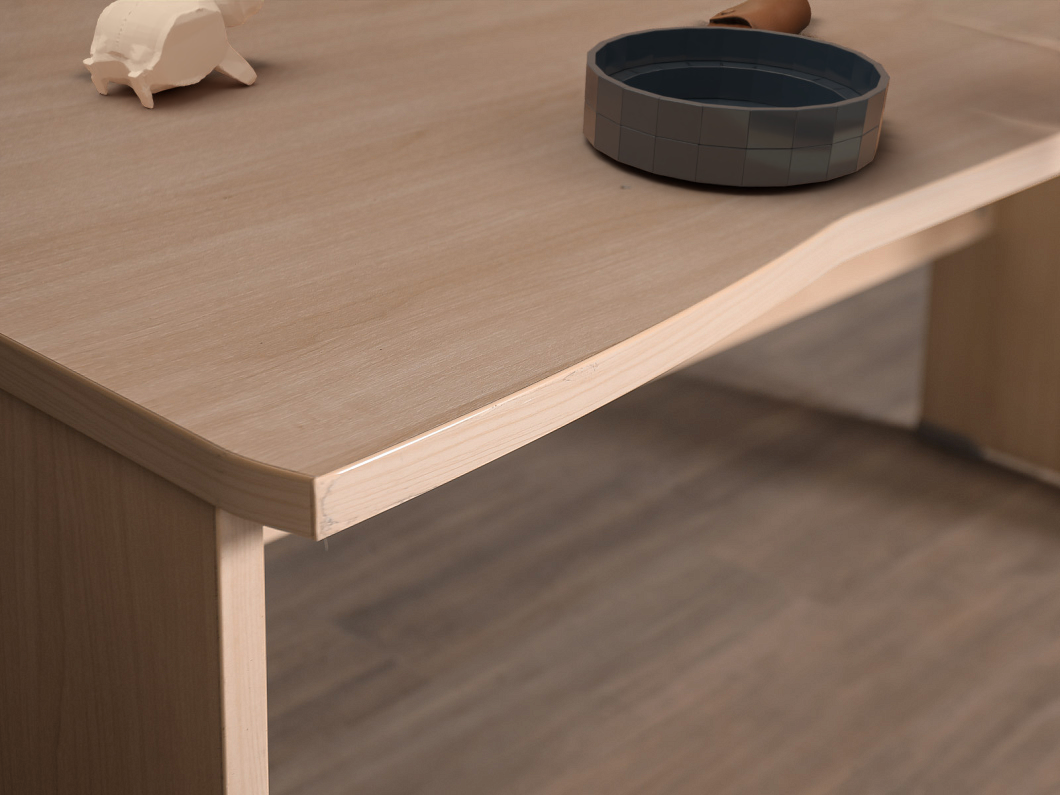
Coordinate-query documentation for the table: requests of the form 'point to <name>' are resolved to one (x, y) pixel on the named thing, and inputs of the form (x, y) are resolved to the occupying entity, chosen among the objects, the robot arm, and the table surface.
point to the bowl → (734, 105)
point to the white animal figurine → (167, 44)
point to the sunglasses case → (766, 16)
